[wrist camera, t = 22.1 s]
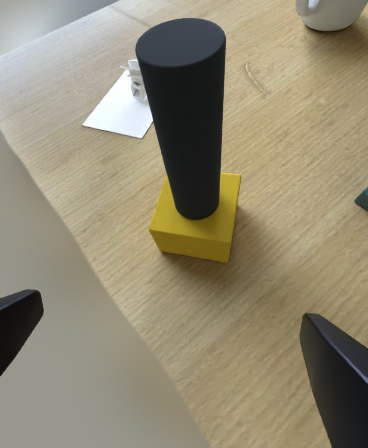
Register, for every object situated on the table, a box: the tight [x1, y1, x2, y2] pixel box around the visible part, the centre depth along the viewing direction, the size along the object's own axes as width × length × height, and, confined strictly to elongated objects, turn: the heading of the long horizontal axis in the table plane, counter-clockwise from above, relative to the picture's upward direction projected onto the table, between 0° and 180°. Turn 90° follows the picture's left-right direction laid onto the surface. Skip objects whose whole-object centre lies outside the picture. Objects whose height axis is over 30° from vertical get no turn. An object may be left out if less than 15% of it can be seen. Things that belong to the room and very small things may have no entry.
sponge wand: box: [136, 18, 241, 263], centre depth 13 cm, size 5×5×12 cm
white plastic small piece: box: [120, 59, 147, 102], centre depth 25 cm, size 3×3×3 cm
